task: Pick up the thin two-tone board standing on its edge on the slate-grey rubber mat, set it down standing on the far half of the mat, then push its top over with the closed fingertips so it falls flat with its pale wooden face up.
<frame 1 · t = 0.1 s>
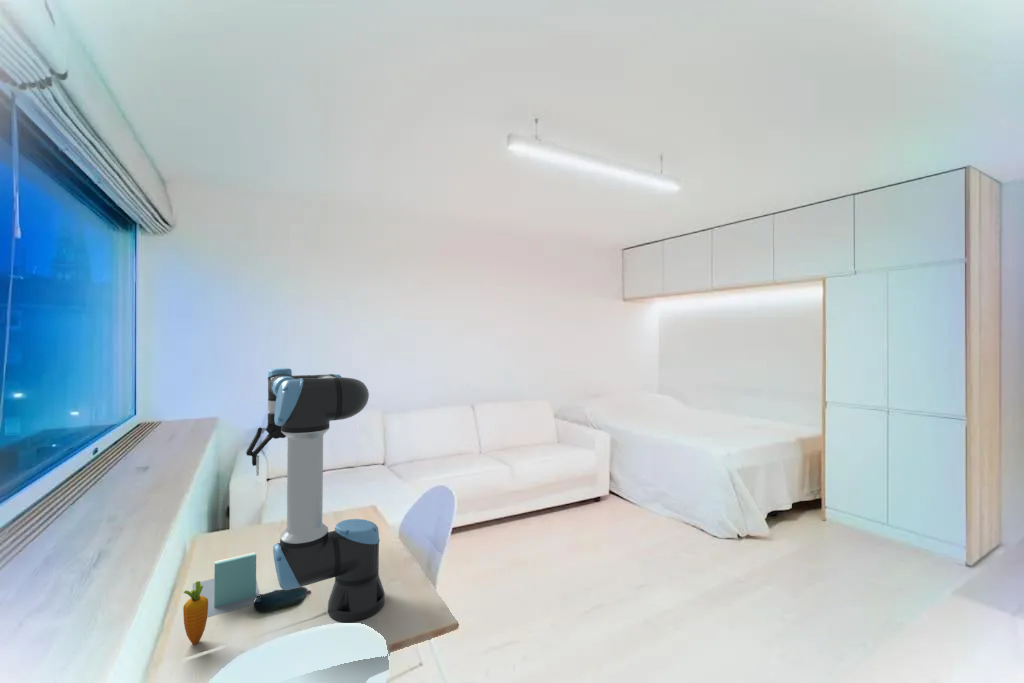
hand: (279, 471, 158), 28 cm above the table, fingers open, 13 cm apart
mat: (225, 594, 130), on the table
carrot: (195, 646, 109), on the table
board: (235, 600, 126), point 1 cm above the table, touching mat
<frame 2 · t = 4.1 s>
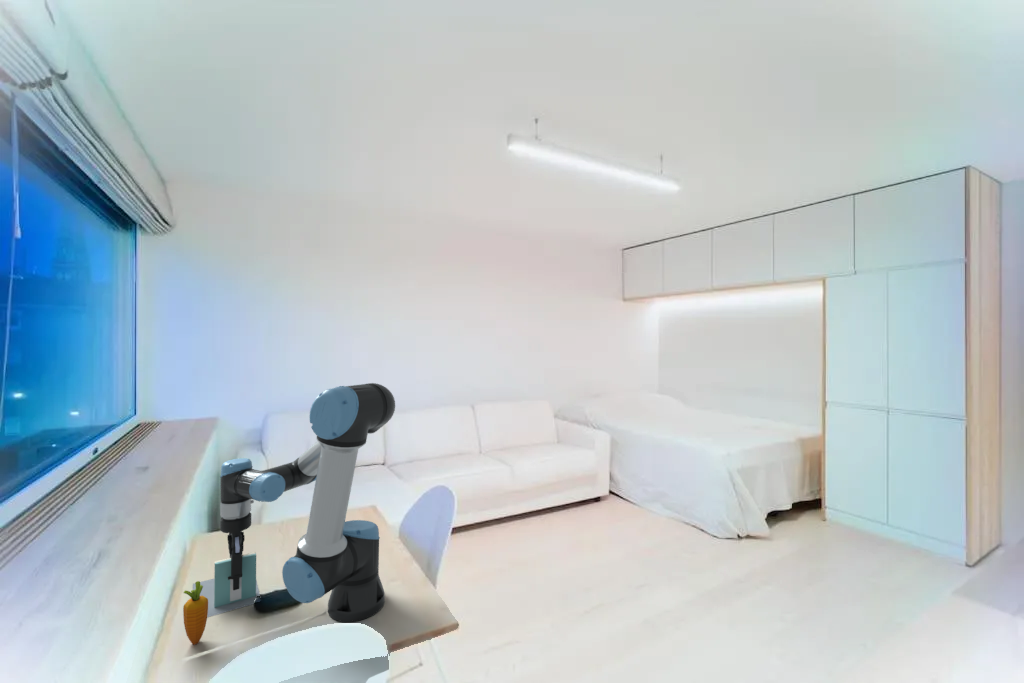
hand: (235, 596, 126), 1 cm above the table, fingers closed on board, 2 cm apart
board: (235, 600, 126), point 1 cm above the table, touching gripper, mat
everything else where it was.
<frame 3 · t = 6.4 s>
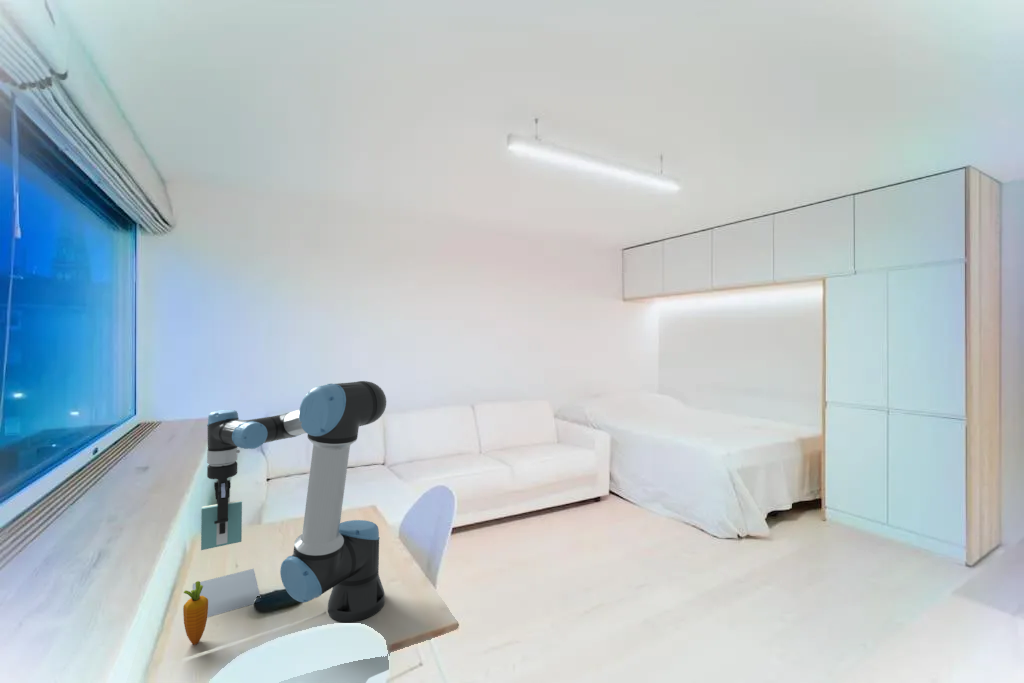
hand: (221, 541, 132), 15 cm above the table, fingers closed on board, 2 cm apart
board: (221, 544, 132), point 14 cm above the table, touching gripper
everything else where it was.
when the fingers open (2 cm above the table, at t = 8.6 s): board stays where it is, resting on mat.
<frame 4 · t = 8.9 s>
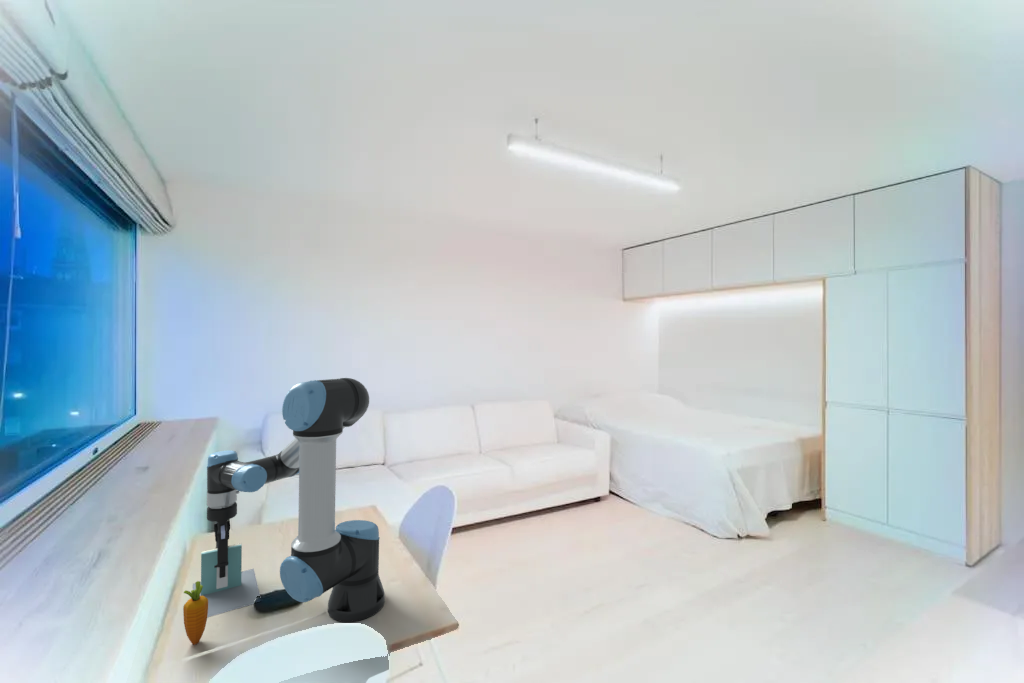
hand: (221, 581, 132), 3 cm above the table, fingers open, 7 cm apart
board: (221, 588, 132), point 1 cm above the table, touching mat
everything else where it was.
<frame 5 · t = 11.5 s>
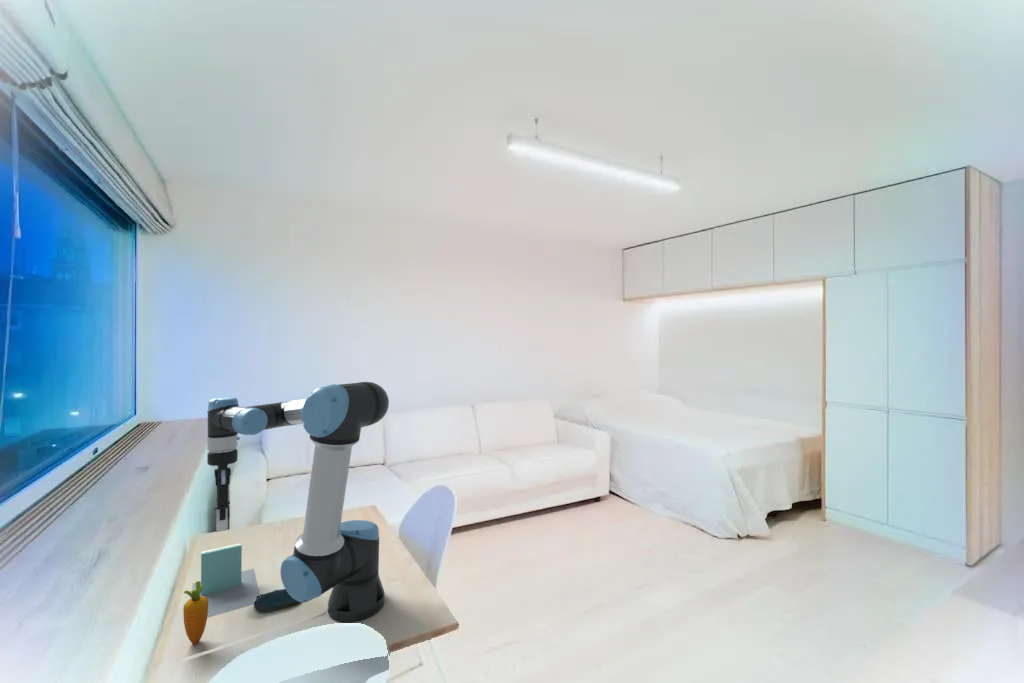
hand: (222, 528, 132), 18 cm above the table, fingers closed
nothing on the table moved.
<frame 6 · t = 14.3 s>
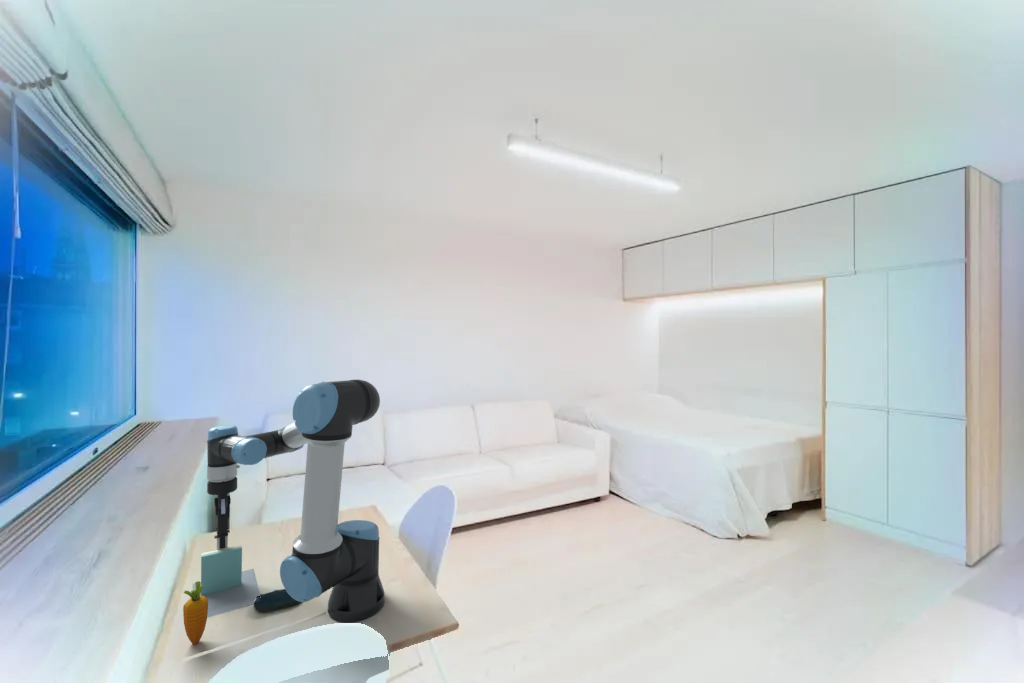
hand: (222, 557, 133), 10 cm above the table, fingers closed
board: (221, 588, 132), point 1 cm above the table, tilted 8°, touching mat
everything else where it was.
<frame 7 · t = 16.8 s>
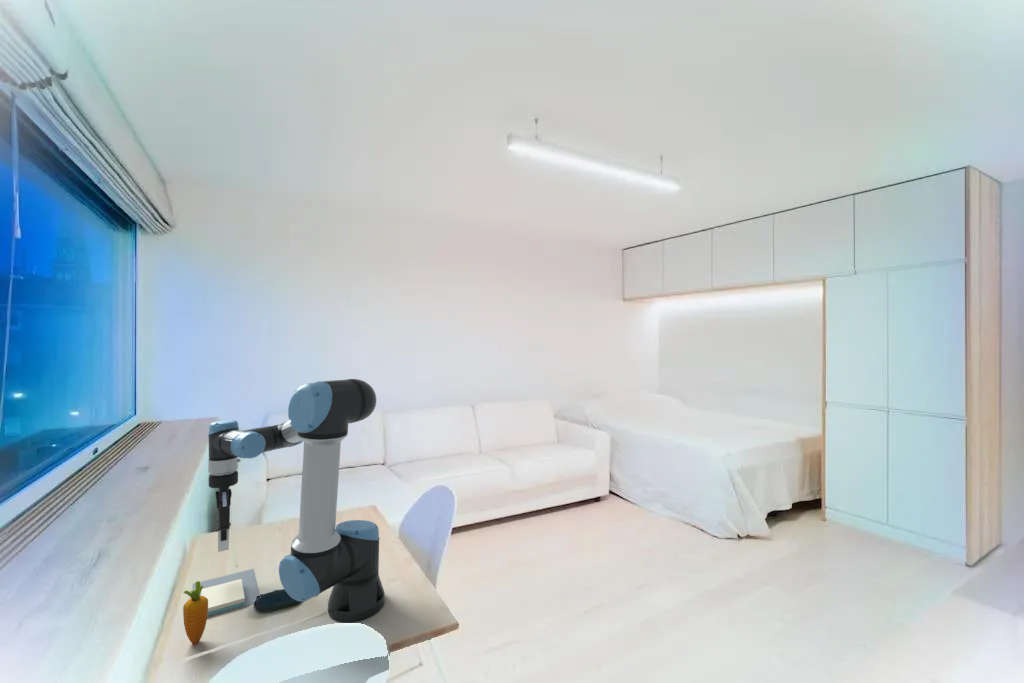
hand: (223, 549, 135), 11 cm above the table, fingers closed
board: (221, 587, 131), point 2 cm above the table, tilted 90°, touching mat
everything else where it was.
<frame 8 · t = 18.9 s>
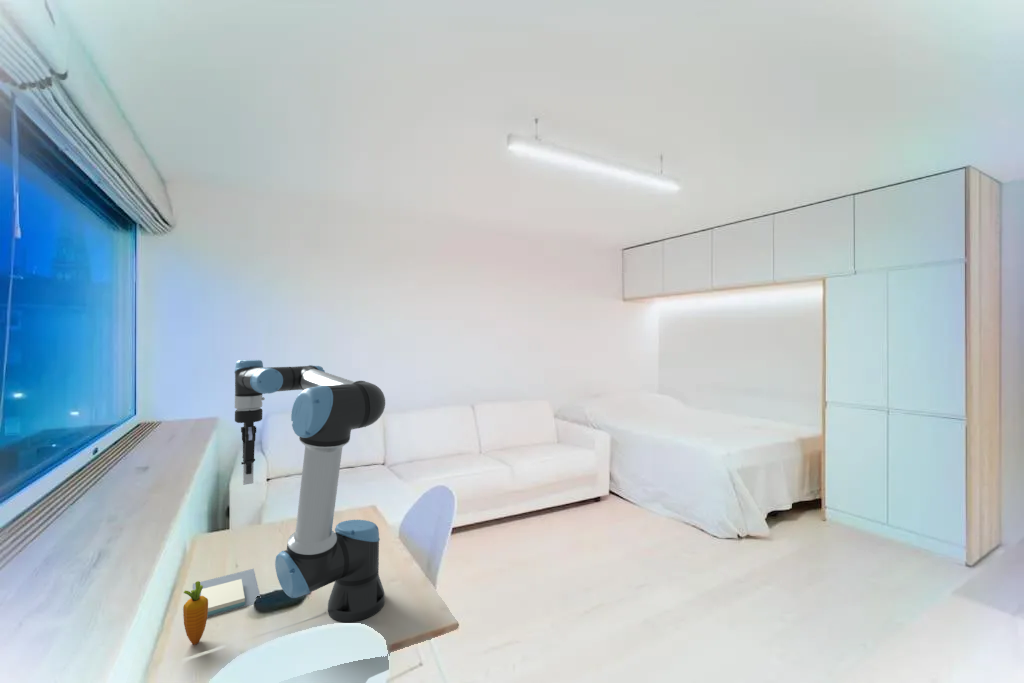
hand: (248, 483, 140), 29 cm above the table, fingers closed
nothing on the table moved.
at the end: board tilted 90°; board inside the target area (2.0 cm from its centre), point 1.6 cm above the table; the gripper is holding nothing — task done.
